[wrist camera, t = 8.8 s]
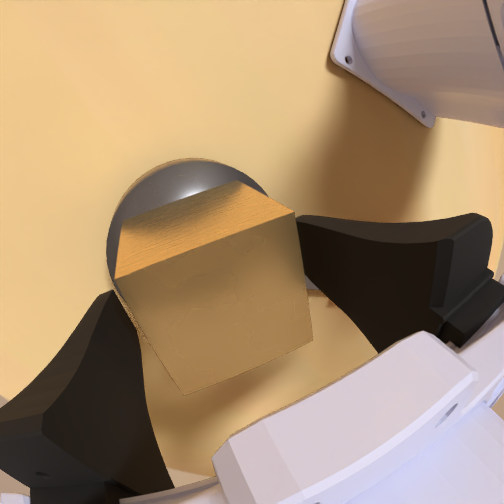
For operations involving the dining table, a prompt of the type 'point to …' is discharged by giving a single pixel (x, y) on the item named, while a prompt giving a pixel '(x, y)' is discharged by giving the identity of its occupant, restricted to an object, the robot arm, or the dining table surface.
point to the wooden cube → (215, 283)
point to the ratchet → (171, 195)
